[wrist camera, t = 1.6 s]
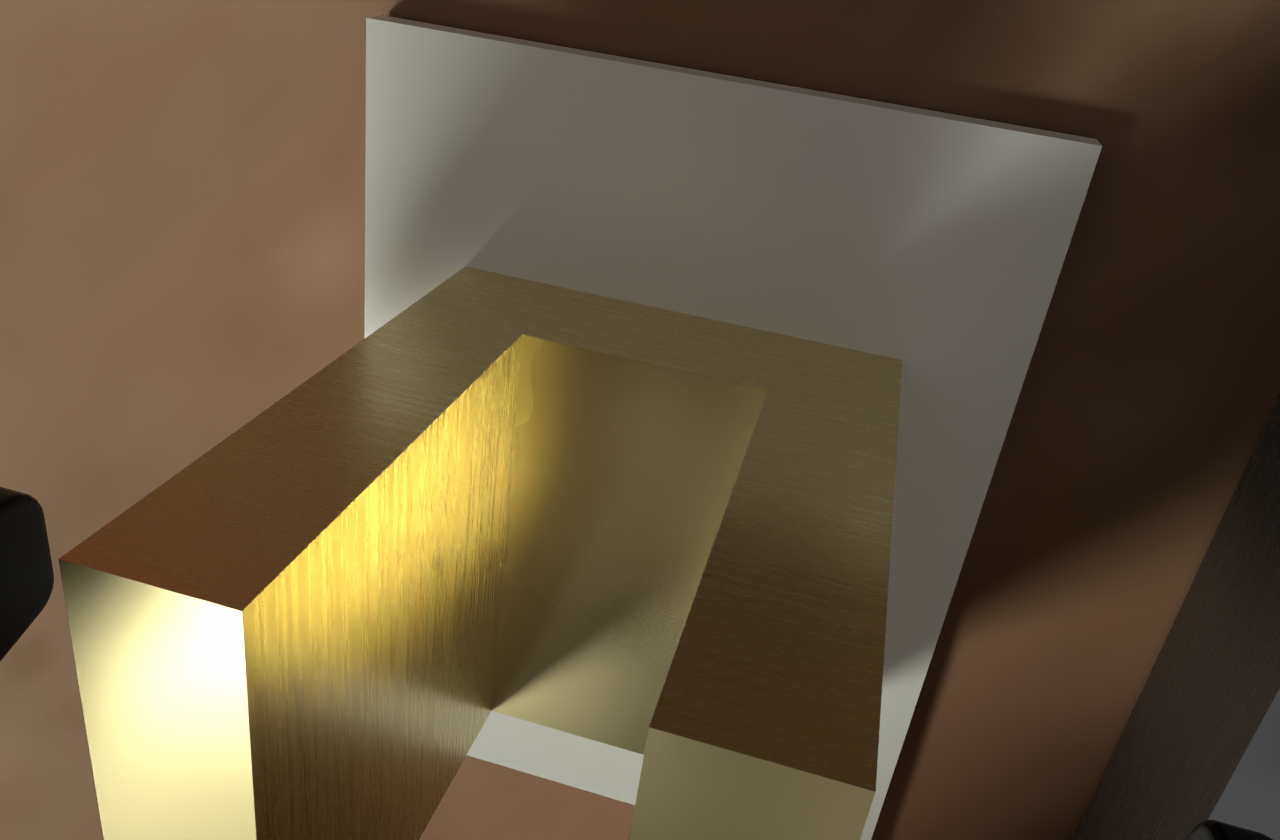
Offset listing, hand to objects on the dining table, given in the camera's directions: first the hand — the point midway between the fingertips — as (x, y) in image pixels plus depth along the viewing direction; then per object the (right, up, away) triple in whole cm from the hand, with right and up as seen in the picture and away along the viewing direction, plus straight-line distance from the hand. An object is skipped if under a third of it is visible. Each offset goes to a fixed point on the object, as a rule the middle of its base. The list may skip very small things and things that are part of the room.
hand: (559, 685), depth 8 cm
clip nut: (+1, +1, +2) cm, 3 cm away
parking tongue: (+1, +1, +3) cm, 3 cm away
